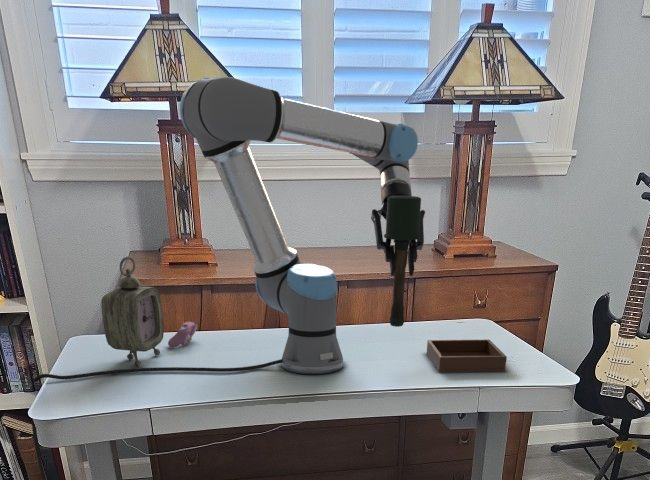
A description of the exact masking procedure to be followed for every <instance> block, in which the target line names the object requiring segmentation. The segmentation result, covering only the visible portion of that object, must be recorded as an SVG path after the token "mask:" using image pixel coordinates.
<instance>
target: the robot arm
mask: <svg viewBox="0 0 650 480" xmlns="http://www.w3.org/2000/svg"><path fill="white" fill-rule="evenodd" d="M179 116H180V120H181V123H182V125H183V127H184V129H185V130H186V132H187V133H188V134H189V135H190V136H191V137H192V138H194V139H195V140H196V142H197V144H198V146H199V149H200V151H201V153H202V156H203V157H204V159H206V160H207V161H210V162H212V163H213V164H214V167H215V168H216V169H215V170H216V171H217V174H218V176H219V178H220V180H221V182H222V185H223V188H224V190H225V193H226V195H227V196H228V197H227V198H228V199H229V201H230V204H231V206H232V208H233V211H234V213H235V215H236V218H237V220H238V222H239V225H240V227H241V229H242V232H243V234H244V236H245V238H246V241H247V243H248V245H249V248H250V251H251V253H252V255H253V257H254V259H255V262H254V265H253V266H252V271H253V272H254V275H255V283H254V284H255V285H254V286H255V290H256V293H257V295H258V297H259V298H260V300H261V301H262V302H263V303H264V304H265V305H267V307H269V308H270V309H273V310H275V311H278V312H280V313H283V314H285V315H287V317H288V319H287V320H288V336H287V339H286V343H285V346H284V350H283V353H282V356H281V359H277V360H273V361H272V360H271V361H270V362H266V363H262V364H256V365H249V366H248V365H247V366H239V367H188V366H187V367H185V366H183V367H181V366H180V367H179V366H172V367H171V366H169V367H168V366H165V367H160V366H159V367H158V366H157V367H135V368H123V369H112V370H111V369H110V370H102V371H101V370H100V371H93V372H86V373H78V374H70V375H57V374H52V373H42V374H38V375H36V376H35V377H34V378H33V380H32V381H31V383H37V382H38V381H39V380H41V379H43V378H47V379H55V380H74V379H83V378H88V377H89V378H90V377H96V376H106V375H114V374H125V373H127V374H128V373H140V372H143V373H144V372H216V373H217V372H219V373H220V372H221V373H223V372H225V373H226V372H242V371H243V372H244V371H253V370H258V369H263V368H267V367H271V366H275V365H278V364H281V367H282V368H283V369H285V370H286V371H289V372H292V373H295V374H303V375H324V374H331V373H334V372H337V371H340V370H341V369H342V368H343V366H344V357H343V354H342V350H341V347H340V343H339V340H338V336H337V306H338V305H337V297H338V296H337V295H338V282H337V275H336V273H335V272H334V270H332V269H331V268H329V267H327V266H325V265H321V264H320V265H319V264H314V263H302V262H301V259H300V257H299V254H298V252H297V250H296V249H295V248H293V247H290V246H288V243H287V240H286V238H285V236H284V233H283V230H282V228H281V226H280V223H279V220H278V218H277V215H276V213H275V210H274V208H273V206H272V203H271V201H270V197H269V195H268V192H267V190H266V187H265V185H264V183H263V180H262V177H261V175H260V172H259V169H258V167H257V165H256V162H255V160H254V156H253V154H252V152H251V149H250V143H251V141H254V142H255V141H256V142H259V141H260V142H264V143H273V142H275V140H276V139H277V140H281V141H287V142H292V143H297V144H302V145H308V146H313V147H317V148H323V149H327V150H328V149H329V150H333V151H340V152H344V153H348V154H350V155H352V156H354V157H356V158H358V159H360V160H361V161H363V162H365V163H366V164H369V165H370V166H371V167H373V168H375V169H377V170H378V172H379V181H380V183H379V184H380V197H381V198H380V199H381V207H380V209H378V210H377V209H376V208H374V209H372V210H371V216H370V219H371V221H372V223H373V226H374V227H373V228H374V235H375V241H376V242H375V244H376V249H377V250H379V251H380V250H383V252H384V258H385V262H386V263H389V269H390V271H389V272H390V276H391V277H394V273H395V269H396V268H395V255H394V253H395V249H394V247H395V245H391V244H392V239H387V238H385V241H384V235H383V227H382V221H381V219H382V218H384V220H386V219H387V201H388V197H390V196H413V195H412V184H411V174H410V173H411V172H410V162H409V161H410V160H411V159H412V158H413V157H414V156H415V154H416V152H417V149H418V144H419V137H418V135H417V132H416V130H415V129H414V128H413V127H412V126H411V125H408V124H404V123H391V122H387V121H383V120H378V119H375V118H371V117H365V116H362V115H358V114H353V113H348V112H344V111H339V110H335V109H331V108H327V107H323V106H318V105H314V104H310V103H305V102H300V101H297V100H293V99H288V98H283V97H282V95H281V94H280V92H279V91H277V90H274V89H270V88H266V87H263V86H260V85H256V84H255V83H251V82H248V81H245V80H243V79H239V78H236V77H232V76H219V77H213V78H211V77H204V78H201V79H198V80H197V81H194V82H192V83H191V84H189V85H188V86H187V88H185V90H184V92H183V93H182V96H181V99H180V103H179ZM425 215H426V211H425V209H420V223H419V235H420V238H419V239H416V240H409V241H410V243H409V244H408V254H407V265H408V275H409V277H413V275H414V272H415V263H417V260H418V251H421V250H422V249H423V246H424V245H425V244H424V243H425V236H424V235H425V234H424V218H425ZM34 421H35V420H34ZM34 421H33V420H32V421H31V428H32V436H33V442H34V443H33V444H34V448H35V453H36V454H35V455H36V458H37V462H38V467H39V471H40V475H41V480H47V477H46V473H45V468H44V465H43V460H42V455H41V451H40V445H39V438H38V433H37V432H38V431H37V426H36V427H35V424H34Z"/></svg>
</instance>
